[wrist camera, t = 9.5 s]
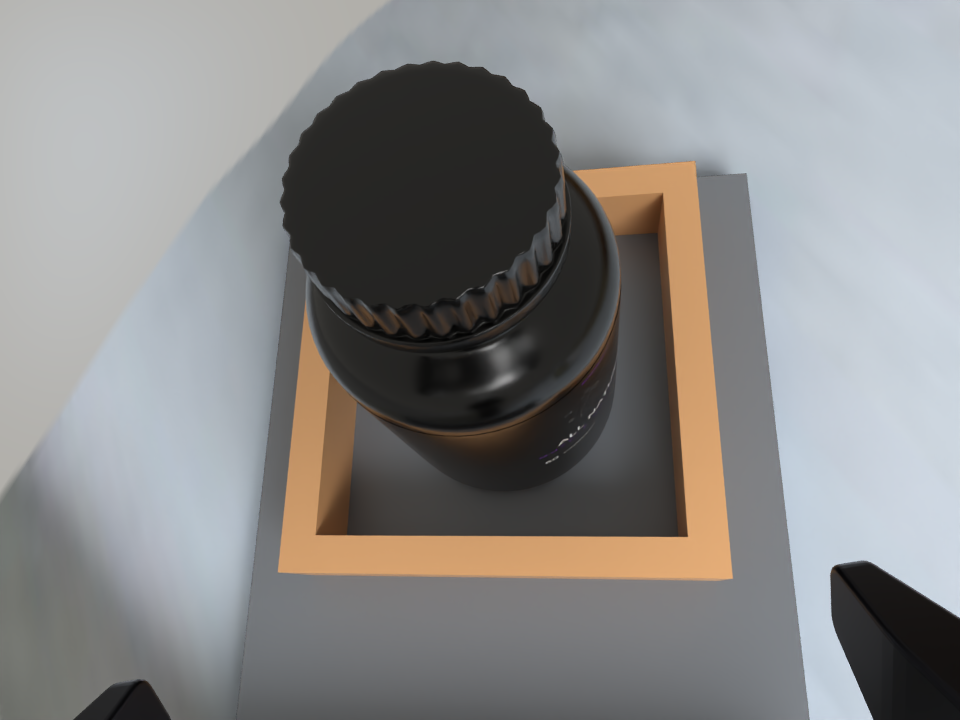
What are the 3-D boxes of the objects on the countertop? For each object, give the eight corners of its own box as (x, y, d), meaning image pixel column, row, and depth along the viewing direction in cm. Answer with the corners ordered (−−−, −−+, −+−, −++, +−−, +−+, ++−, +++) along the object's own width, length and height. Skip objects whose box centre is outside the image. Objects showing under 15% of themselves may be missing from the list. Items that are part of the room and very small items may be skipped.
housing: (814, 864, 18) (879, 947, 14) (243, 820, 21) (148, 879, 17) (739, 192, 25) (768, 104, 20) (306, 223, 27) (249, 152, 23)
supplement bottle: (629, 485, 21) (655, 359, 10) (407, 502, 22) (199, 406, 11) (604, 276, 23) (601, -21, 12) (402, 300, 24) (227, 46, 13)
